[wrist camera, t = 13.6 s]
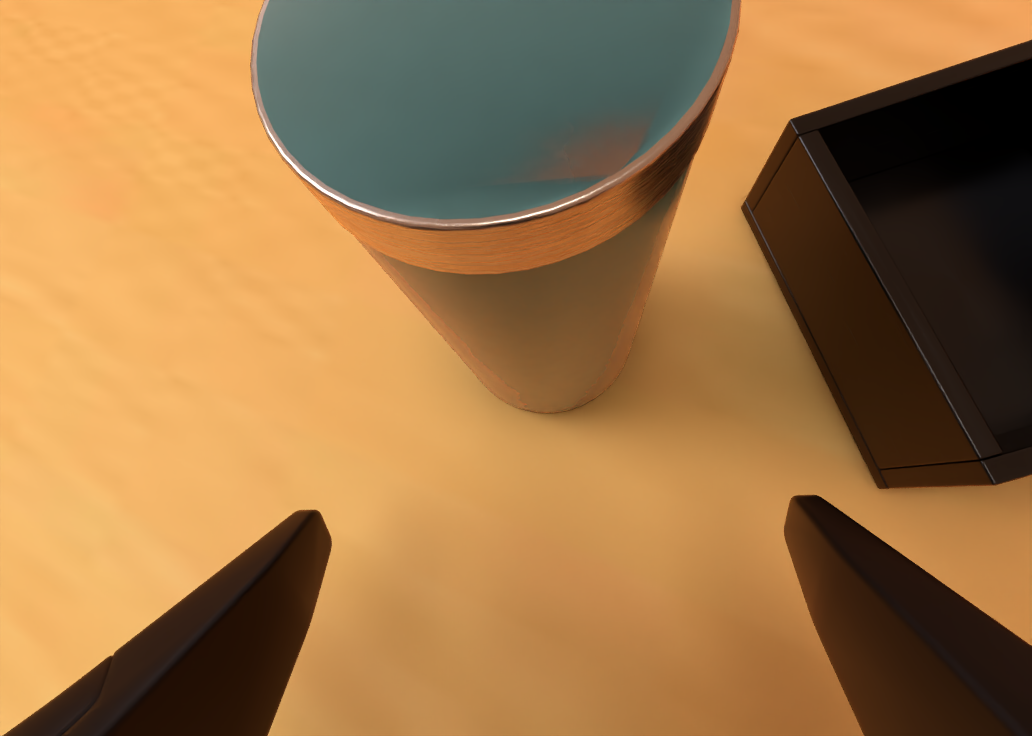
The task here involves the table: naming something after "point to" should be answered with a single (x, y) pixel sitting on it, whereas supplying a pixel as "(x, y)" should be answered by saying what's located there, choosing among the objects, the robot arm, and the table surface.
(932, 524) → the table surface
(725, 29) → the tin
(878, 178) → the tray
